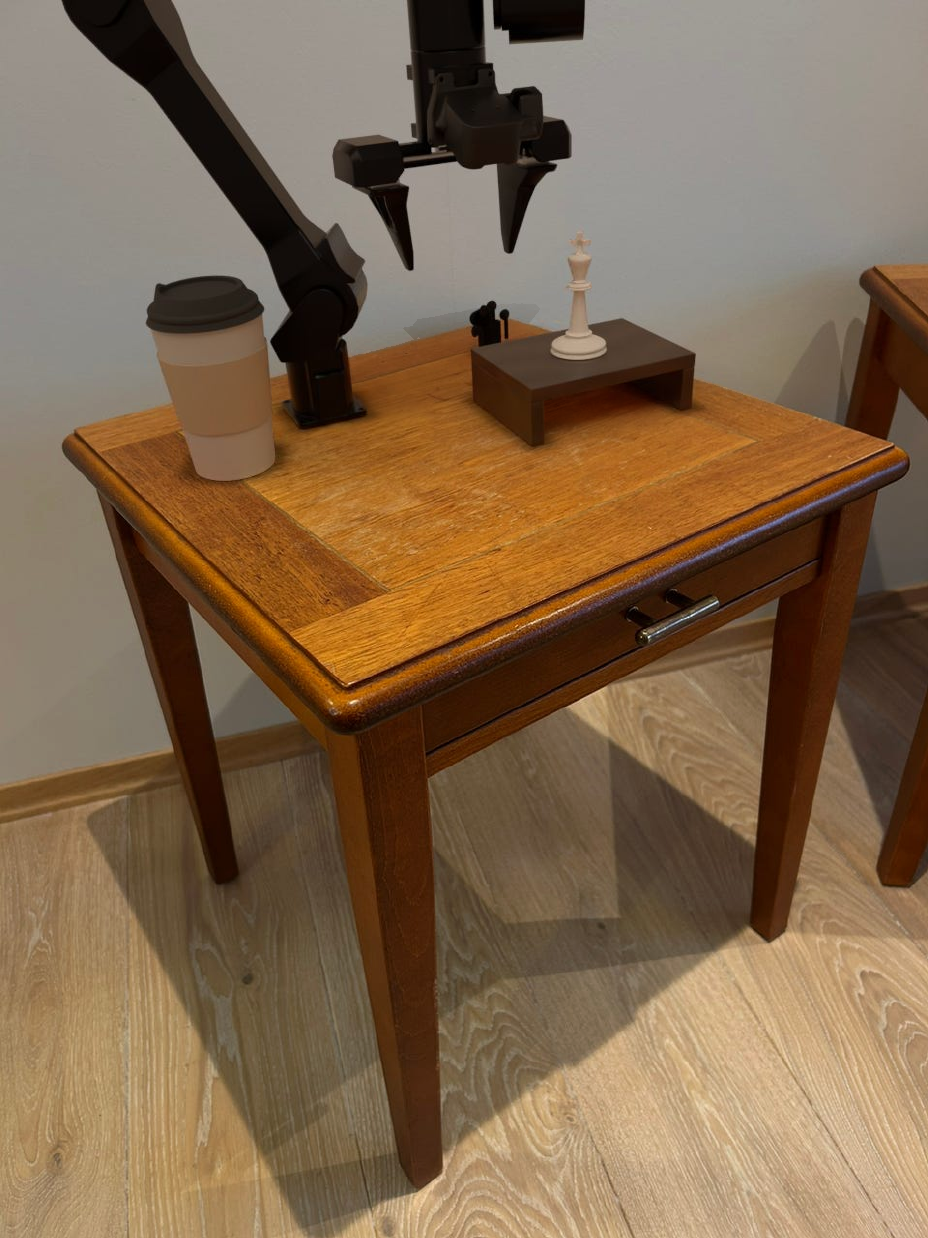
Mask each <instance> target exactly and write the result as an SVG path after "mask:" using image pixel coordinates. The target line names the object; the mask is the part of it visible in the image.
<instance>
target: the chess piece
mask: <svg viewBox="0 0 928 1238" xmlns="http://www.w3.org/2000/svg"><path fill="white" fill-rule="evenodd" d="M568 243H569V245H568V246H569V247H576V252H574V253H571V254H569V255H568V256H567V263H568V266H569V269H570V273H571V275H572V279H573V280H572V281H570V282H568V283H567V285H566V289H567V290H569V291H571V292H573V295H572V305H571V313H570V319H569V320H570V321H569V327H568V329H569V330H567V331H566V332H565V333H566V335H563V336H560V337H558V338H556V339H555V340H554V341H553V342H552V344H551V346H552V348H551V353H552V354H553V355H554V356H556V357H558V358H562V359H567V360H587V359H593V358H596V357H599V356H602V355H603V354H605V353H606V351H607V348H606V342H605V340H604V339H603V338H601V337H599V336H597V335H593V334H592V331H591V330H589V328H588V325H589V323H588V313H587V305H586V304H587V303H586V291H589V290H591V289H592V288H593V286H592V283H591V282H590V281H587V279H586V277H587V275H588V272H589V268H590V265H591V263H592V260H593V257H592V255H591V254H589V253H587V252H584V251H583V250H584V249H583V248H584V247H590V246H591V239H590V238H589V239H585V238H584V232H583V231H582V230H581V231H580V230H579V231H577V232H576V239H572V238H571V239H569V242H568Z"/></svg>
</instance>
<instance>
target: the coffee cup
mask: <svg viewBox="0 0 928 1238" xmlns="http://www.w3.org/2000/svg"><path fill="white" fill-rule="evenodd" d="M153 294H154V295H153V300H152V301H151V303H149V304H148V306H147V308H146V314H147V317H146V319H145V320H146V321H145V325H146V327H148V328H149V329H150V331H151V332H150V333H151V335H152V339H153V341H154V345H155V347H156V358H157V360H158V364H159V366H160V370H161V373H162V376H163V377H164V379H163V380H164V381H165V385H166V388H167V391H168V394H169V396H170V400H171V403H172V406H173V408H174V411H175V415H176V418H177V421H178V424H179V426H180V428H182V432H183V435H184V438H185V441H186V445H187V447H188V448H187V449H188V451H189V454H190V457H191V460H192V464H193V466H194V469H195V472H196V474H197V475H199V476H200V477H201V478H203V479H207V480H209V481H210V480H211V481H217V482H228V481H237V480H238V481H239V480H244V479H248V478H252V477H254V476H257V475H260V474H262V473H264V472H266V471H268V470H269V468H271V467H272V466H273V465H274V464H275V462H276V449H275V437H274V430H273V429H274V427H273V416H272V414H273V400H272V399H273V397H272V386H271V373H270V362H269V350H268V347H269V346H268V339H267V338H266V336H265V331H264V320H263V313H264V312H265V306H264V305H263V304H262V302H261V301H260V300H259V299H260V298H259V295H258V294H257V293H256V291H254V290H252V289H250V288H248V287H247V286H246V284H245V283H244V281H243V280H242V279H240V278H238V277H235V276H231V275H219V274H218V275H215V274H213V275H201V276H194V277H187V278H183V279H179V280H175V281H172V282H169V283H167V284H165V283H161V282H159V283H156V284H155V286H154V293H153Z"/></svg>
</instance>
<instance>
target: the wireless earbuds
mask: <svg viewBox="0 0 928 1238" xmlns="http://www.w3.org/2000/svg"><path fill="white" fill-rule="evenodd" d="M497 306H498V305H497V302H496V301H495V300H490V301H487V303H486V304H482V305H481V306H480V308H477V309H476V310H474V311H472V312H471V314H470V315H469V318H468V319H469V323H470V325H471V329H470V334H471V337H473V338H476V337H477V342H478V343H477V344H478V346H477V347H481V346H486V345H491V344H496V343H501V342H502V325H501V323H502V322H501V321H503V337H504V340H509V336H510V335H509V317H510V311H509V310H508V309H507V308H504V309H501V310H500V311H499V314H498V317H499V318H500V319H501V320H499V319H496V310H497Z"/></svg>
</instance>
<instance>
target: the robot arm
mask: <svg viewBox="0 0 928 1238" xmlns="http://www.w3.org/2000/svg"><path fill="white" fill-rule="evenodd" d="M60 1H61V4H62V7H63V10H64V12H65V13H66V15H67V17H68V19H69V20H70V22H71V24H72V25H73V26H74V27H75V28H76V29H77V30H78V31H79V32H80V33H81V34H82V36H84V37H85V38H86V39H87V41H89V42H90V43H91V44H92V45H93V46H94V47H95V48H96V50H98V52H100V54H102V56H104V58H106V60H108V61H109V62H110V63H112V65H114V66H115V67H116V68H117V69H119V70H120V71H122V72H123V73H124V74H125V75H127V76H128V77H129V78H131V79H132V80H133V81H134V82H135V83H137V84H138V85H140V86H141V87H142V88H143V89H144V90H146V91H147V92H148V94H149V95H150V96H151V97H152V99H153V100H154V101H155V103H156V104H157V105H158V106H159V108H160V110H161V111H162V112H163V114H164V115H165V116H166V117H167V119H168V120H169V122H170V123H171V124H172V126H173V127H174V128H175V130H176V131H177V133H178V134H179V135H180V136H181V138H182V139H183V140H184V142H185V143H186V145H187V146H188V147H189V149H190V150H191V151H192V153H193V154H194V156H195V157H196V159H198V161H199V162H200V164H201V165H202V166H203V168H204V169H205V171H206V172H207V174H208V175H209V176H210V177H211V179H212V180H213V181H214V183H215V184H216V185H217V187H218V188H219V190H220V191H221V192H222V194H223V195H224V196H225V198H226V199H227V201H228V202H229V203H230V204H231V206H232V207H233V209H234V210H235V211H236V212H237V214H238V216H239V217H240V218H241V219H242V221H243V222H244V223H245V225H246V226H247V228H248V229H249V230H250V232H251V233H252V234H253V236H254V237H255V238H256V240H257V241H258V243H259V244H260V245H261V246H262V249H263V250H264V251H265V254H266V257H267V260H268V262H269V265H270V268H271V271H272V274H273V276H274V280H275V282H276V285H277V288H278V290H279V293H280V295H281V296H282V298H283V300H284V303H285V304H286V306H287V308H288V312H287V314H286V315H285V316H284V318H283V319H282V322H281V323H280V325H278V327H277V329H276V331H275V332H274V333H273V335H272V337H271V338H270V341H269V343H270V346H271V347H272V349H273V351H274V353H275V355H276V357H277V359H278V360H279V362H280V363H281V364H282V363H283V364H285V370H286V375H287V381H288V382H287V383H288V388H289V392H290V399H284V400H283V401H281V405H282V408H283V410H285V412H286V413H287V414H288V416H289V417H290V418H291V419H292V420H293V422H294V423H295V424H296V426H297V427H298V428H299V429H304V428H305V429H306V428H310V427H315V426H319V425H320V426H321V425H324V424H329V423H334V422H338V421H342V420H347V419H352V418H357V417H360V416H365V415H367V414H368V410H367V409H368V408H366V406H365V405H364V404H363V403H362V402H361V401H360V400H359V399H358V398H357V397H356V395H354V392H353V391H354V390H353V382H352V375H351V366H350V360H349V359H350V358H349V350H348V343H347V341H346V339H344V338H343V336H345V335H346V334H348V332H350V331H351V330H352V329H353V328H354V326H355V324H356V322H357V320H358V318H359V315H360V313H361V311H362V308H363V307H364V304H365V303H366V300H367V296H368V285H369V284H368V279H367V276H366V274H365V272H364V270H363V268H364V265H365V264H366V260H365V258H363V257H362V256H361V255H359V254H357V252H356V251H355V250H354V249H353V247H352V246H351V245H350V243H349V241H348V238H347V237H346V235H345V232H344V230H343V229H342V227H341V226H340V224H339V223H338V222H335V223H333V225H332V226H331V227H330V228H329V229H328V230H327V231H324V230H323V229H322V228H321V227H319V226H318V225H317V224H316V223H314V222H313V221H311V220H310V219H309V218H308V217H307V216H306V215H305V214H304V213H303V211H302V210H301V208H300V207H299V206H298V204H297V203H296V201H295V200H294V199H293V197H292V195H290V193H289V191H288V190H287V189H286V187H285V185H284V184H283V183H282V182H281V180H280V179H279V177H278V176H277V174H276V173H275V172H274V170H273V168H272V167H271V166H270V165H269V163H268V161H267V160H266V159H265V157H264V156H263V153H261V151H260V150H259V149H258V147H257V146H256V144H255V143H254V142H253V140H252V139H251V137H250V136H249V135H248V133H247V132H246V130H245V129H244V127H243V125H241V123H240V121H239V120H238V118H237V117H236V116H235V115H234V113H233V111H232V109H230V107H229V106H228V105H227V103H226V102H225V100H224V99H223V98H222V96H221V94H220V93H219V91H218V90H217V89H216V87H215V86H214V85H213V83H212V82H211V81H210V79H209V78H208V76H207V75H206V73H205V71H204V69H203V68H202V67H201V66H200V65H199V62H197V59H196V58H195V56H194V53H193V50H192V48H191V45H190V42H189V39H188V36H187V33H186V30H185V28H184V25H183V22H182V19H181V17H180V14H179V12H178V10H177V8H176V6H175V4H174V2H173V0H60ZM406 8H407V9H406V10H407V23H408V33H409V35H408V36H409V48H410V63H411V64H405V68H406V79H407V81H412V88H413V89H412V91H413V103H414V116H415V122H411V123H410V131H411V138H413V139H416V140H415V141H408V142H401V143H400V142H399V140H396V139H393V138H390V137H388V136H385V135H381V134H373V135H364V136H358V137H357V136H356V137H355V136H354V137H348V138H347V137H346V138H340V139H337V142H336V143H335V145H334V147H333V150H332V154H331V155H332V158H331V159H332V165H333V173H334V178H335V179H337V180H339V181H341V182H343V183H345V184H347V185H349V186H351V188H352V189H354V190H357V191H358V192H360V193H362V194H364V195H367V197H368V198H369V200H370V202H371V203H372V204H373V206H374V208H375V209H376V211H377V213H378V214H379V216H380V218H381V220H382V222H383V224H384V226H385V228H386V230H387V232H388V234H389V237H390V239H391V241H392V243H393V245H394V247H395V250H396V252H397V254H398V256H399V258H400V261H401V262H402V265H403V266H404V268H405V270H407V271H408V272H412V271H414V269H415V260H414V259H415V257H414V256H415V255H414V246H413V240H412V232H411V227H410V226H411V225H410V220H409V214H408V213H409V212H408V198H409V192H410V186H409V185H406V184H404V183H402V182H401V181H400V178H401V177H402V175H403V174H404V172H405V170H408V169H413V168H414V169H415V168H421V167H427V166H434V165H435V166H436V165H443V164H450V163H457V164H458V165H459V166H460V167H462V168H464V169H467V170H481V169H483V168H484V167H486V166H493V165H496V174H497V175H496V177H497V190H498V191H497V192H498V194H497V195H498V207H499V208H498V209H499V210H498V211H499V226H500V235H501V236H500V237H501V241H502V249H503V252H504V253H505V254H507V255H511V254H513V253H514V252H515V248H516V246H517V241H518V238H519V235H520V232H521V228H522V226H523V223H524V219H525V216H526V213H527V209H528V206H529V204H530V201H531V198H532V196H533V194H534V191H535V189H536V187H537V186H538V184H539V183H540V182H541V181H542V180H543V178H544V177H545V176H546V175H547V174H548V173H553V172H555V171H556V169H557V168H558V163H555V161H560V160H567V159H571V158H572V145H573V144H572V142H573V141H572V139H573V138H572V137H573V134H572V132H571V130H570V128H569V126H568V124H567V123H566V121H565V120H564V119H562V118H556V117H552V116H547V115H544V102H543V100H544V99H543V93H542V92H541V91H540V90H539V89H538V88H537V87H536V86H535V85H530V86H523V87H515V88H513V89H512V90H511V91H510V92H506V93H505V92H504V93H499V89H498V87H497V84H496V71H495V70H494V62H489V61H488V62H487V51H486V49H487V48H486V27H485V25H486V24H485V0H406ZM585 18H586V0H492V21H493V30H494V31H496V30H497V31H499V30H501V31H502V32H508V45H521V44H522V45H523V44H524V45H525V44H536V43H538V44H540V43H553V42H555V43H556V42H571V41H572V42H573V41H583V40H584V35H585ZM432 149H434V151H433V150H432Z"/></svg>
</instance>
